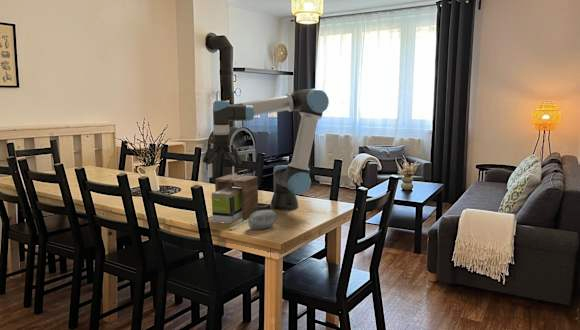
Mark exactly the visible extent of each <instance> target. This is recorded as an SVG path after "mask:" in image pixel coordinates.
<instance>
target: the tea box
mask: <svg viewBox="0 0 580 330" xmlns="http://www.w3.org/2000/svg"><path fill="white" fill-rule="evenodd" d="M211 209H212V210H211V211H212V216H213V217H212V222H213V221H215V222H214V223H217V222H224V223H223V224H227V223H231V224H232V223H234V222H236V221H237V220H239V219H241V218H243V214H242V187H232V188H230V187H225V188H223V189H221V190H218V191H216V190H215V191H214V192H211Z"/></svg>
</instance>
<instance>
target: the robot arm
mask: <svg viewBox="0 0 580 330" xmlns="http://www.w3.org/2000/svg"><path fill="white" fill-rule="evenodd" d="M329 105H330V102H329V97H328V94H327V93H326V92H325V91H324V90H322V89H319V88H309V89H308V88H305V89H301V90H297V91H293V92H289V93H288V92H287V93H286V94H285V95H282V96H277V97H271V98H263V99H258V100H251V101H246V102H241V103H230V101H228V100H214V101H213V104H212V118H213V121H212V122H213V123H212V126H213V128H212V130H213V131H212V132H213V143H208V144H207V149H206V152H205V154H204V157H203V159H202V162H203V163H204V164H206V165H205V166H206V167H205V168H206V171H207V178H208V179H210V178H213V163H212V162H213V160H214V159H215V158H216V157H217V155H218V154H221V155H225V156H226V157H227V158H228V159H229V161H230V162H231V164H232V167H231V168H232V169H231V170H232V171H231V172H232V173H231V174H232V180H236V179H237V175H238V174H237V173H239V166H240V165H242V164H243V162H242V159H241V158H240V156H239V153H238V151H237V146H236V144H230V141H231V140H230V139H231V137H230V136H231V135H230V123H231V122H250V121H253V119H254V117H255V116H261V115H268V114H273V113H278V112H286V111H288V112H299V115H300V116H301V117H300V122H299V127H298V131H297V135H296V136H297V137H296V140H295V145H294V149H293V154H292V159H291V162H290V163H288V164H286V165H285V164H283V165H276V166H274V167H273V194H272V197H271V201H270V204H271V209H272V210H278V211H290V210H291V211H292V210H296V209H298V208H299V200H298V198H297V195H302V194H304V193H306V192H307V191H308V190H309V189H310V187H311V186H312V185H311V184H312V180H311V177H310V172H311V169H310V168H309V161H310V158H311V154H312V148H313V144H314V139H315V135H316V131H317V125H318V121H319V120H321V118H322V117H323V113H324V112H325V111H326V110H327V109H328V107H329Z"/></svg>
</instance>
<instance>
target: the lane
mask: <svg viewBox="0 0 580 330" xmlns="http://www.w3.org/2000/svg"><path fill="white" fill-rule="evenodd" d="M208 216H209V219H211V218H213V217H212V216H213V215H208ZM210 217H211V218H210ZM248 221H249V219H246V220H242V221H241V222H239V223H238V224H236V225H234V226H232V227H230V228H229V229H234V228H236V227H238V226H240V225H242V224H244V223H245V224H247V223H248ZM191 224H195V223H193V222H191V223H190V225H191ZM245 224H244V225H245ZM195 225H196V224H195ZM242 226H243V225H242ZM240 227H241V226H240ZM238 228H239V227H238ZM236 229H237V228H236ZM234 230H235V229H234Z"/></svg>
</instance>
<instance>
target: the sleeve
mask: <svg viewBox="0 0 580 330" xmlns="http://www.w3.org/2000/svg"><path fill="white" fill-rule="evenodd" d="M258 177H259V176H255V175H245V174H244V175H243V174H237V179H236V180H232V173H231V174H227V175H224V176H220V177H217V178H215V179H214V180H215V181H214V182H215V183H214V185H215V188H214V189H215V192H216V191H218V190H221V189H223V188H225V187H230V188H233V184H241V188H242V214H243V217H242V221H245V220H249V217H250V215H251V214H252V213H254V212H256V211H258V203H259V194H258V193H259V191H258V190H259V181H258Z"/></svg>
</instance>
